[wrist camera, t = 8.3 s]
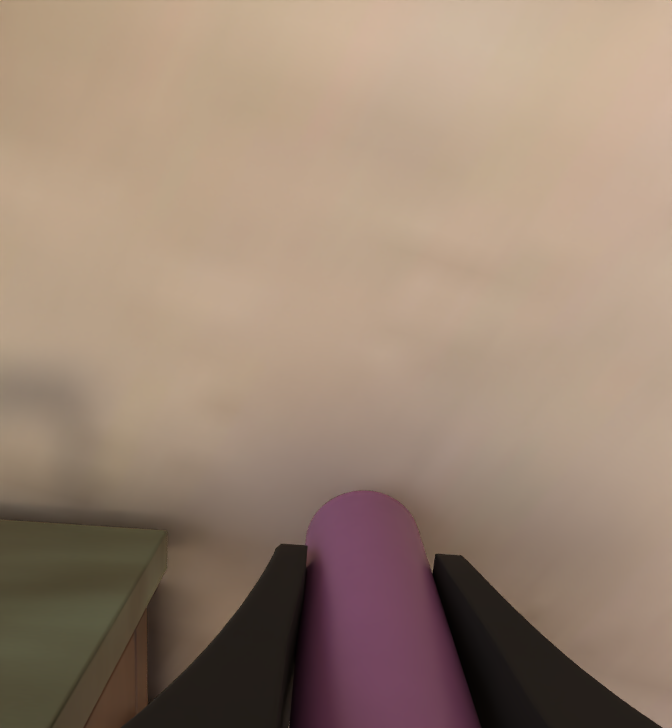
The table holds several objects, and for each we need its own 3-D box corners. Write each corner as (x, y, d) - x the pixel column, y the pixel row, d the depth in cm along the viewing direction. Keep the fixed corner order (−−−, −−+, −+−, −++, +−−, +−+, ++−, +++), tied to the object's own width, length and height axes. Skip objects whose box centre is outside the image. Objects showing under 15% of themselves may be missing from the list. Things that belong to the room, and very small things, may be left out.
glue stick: (438, 565, 13) (792, 1579, 3) (334, 608, 13) (346, 1663, 3) (392, 469, 12) (646, 1355, 2) (283, 516, 12) (107, 1488, 3)
